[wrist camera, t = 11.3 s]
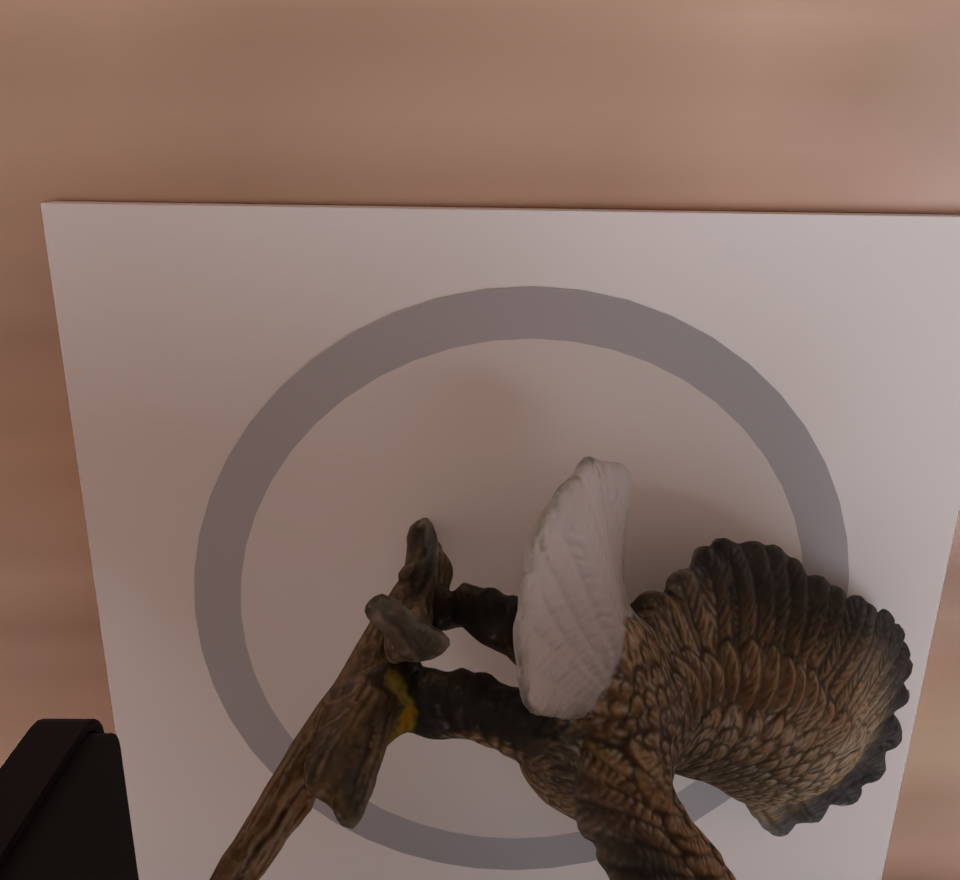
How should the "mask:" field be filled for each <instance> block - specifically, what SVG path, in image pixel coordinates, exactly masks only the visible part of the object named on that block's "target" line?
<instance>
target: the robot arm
mask: <svg viewBox="0 0 960 880" xmlns="http://www.w3.org/2000/svg"><path fill="white" fill-rule="evenodd" d="M0 880H139V877H138V870H137V863H136V855H135V848H134V841H133V834H132V826H131V819H130V812H129V805H128V798H127V790H126V783H125V776H124V769H123V761H122V754H121V747H120V742H119V739H118V737H117V735H116V734H113V733H104V731H103V727H102V725H101V723H100V722H99V721H98V720H96V719H41V720H38V721H37V722H36V723H35V724H34V725H33V726H32V727H31V728H30V729H29V730H28V732H27V733H26V734H25V736H24V737H23V738H22V740H21V741H20V743H19V744H18V745H17V747H16V748H15V749H14V751H13V752H12V753H11V755H10V756H9V757H8V759H7V760H6V761H5V763H4V764H3V766H2V767H1V768H0Z"/></svg>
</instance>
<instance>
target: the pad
mask: <svg viewBox="0 0 960 880" xmlns="http://www.w3.org/2000/svg"><path fill="white" fill-rule="evenodd" d="M40 205H41V212H42V219H43V226H44V233H45V240H46V247H47V254H48V261H49V268H50V275H51V282H52V289H53V296H54V303H55V310H56V317H57V324H58V331H59V338H60V345H61V352H62V359H63V367H64V374H65V381H66V388H67V395H68V402H69V409H70V416H71V423H72V430H73V437H74V444H75V451H76V458H77V465H78V472H79V479H80V486H81V493H82V500H83V507H84V514H85V521H86V528H87V535H88V542H89V549H90V557H91V564H92V571H93V578H94V585H95V592H96V599H97V606H98V613H99V620H100V627H101V634H102V641H103V648H104V655H105V662H106V669H107V676H108V683H109V690H110V697H111V704H112V711H113V718H114V725H115V732H116V735H117V737H118V739H119V742H120V747H121V754H122V761H123V769H124V776H125V783H126V790H127V798H128V805H129V812H130V819H131V826H132V834H133V841H134V848H135V855H136V863H137V870H138V877H139V880H209V879H210V878H211V876H212V874H213V872H214V870H215V868H216V866H217V864H218V863H219V861H220V859H221V857H222V856H223V854H224V853H225V851H226V850H227V849H228V847H229V846H230V844H231V843H232V842H233V840H234V839H235V837H236V835H237V834H238V832H239V830H240V829H241V827H242V825H243V824H244V822H245V820H246V819H247V817H248V816H249V814H250V812H251V811H252V809H253V807H254V806H255V804H256V803H257V801H258V799H259V797H260V795H261V793H262V792H263V790H264V788H265V787H266V785H267V783H268V782H269V780H270V779H271V777H272V775H273V774H274V772H275V771H276V769H277V767H278V766H279V764H280V762H281V761H282V759H283V757H284V756H285V754H286V752H287V750H288V748H289V747H290V745H291V743H292V742H293V740H294V739H295V737H296V736H297V734H298V733H299V731H300V730H301V728H302V727H303V725H304V724H305V723H306V721H307V720H308V718H309V717H310V715H311V714H312V712H313V711H314V709H315V708H316V706H317V705H318V703H319V702H320V701H321V699H322V698H323V697H324V696H325V694H326V693H327V692H328V690H329V689H330V688H331V687H332V685H333V684H334V682H335V681H336V679H337V677H338V676H339V674H340V672H341V671H342V669H343V667H344V666H345V664H346V662H347V660H348V658H349V657H350V655H351V653H352V651H353V650H354V648H355V646H356V644H357V643H358V641H359V639H360V638H361V636H362V634H363V633H364V631H365V629H366V628H367V626H368V624H369V623H370V620H369V619H368V618H367V616H366V614H365V611H364V610H365V606H366V604H367V603H368V601H369V600H370V599H372V598H373V597H374V596H376V595H379V594H385V595H387V596H388V595H389V593H390V592H391V590H392V589H393V587H394V586H395V584H396V583H397V582H398V580H399V579H398V573H399V572H400V570H401V569H402V567H403V566H404V565H405V559H406V550H407V539H406V537H407V534H408V531H409V528H410V526H411V525H412V524H414V523H415V522H416V521H417V520H420V519H422V518H428V519H429V520H430V521H431V522H432V524H433V526H434V529H435V531H436V534H437V539H438V542H439V543H440V544H441V545H442V550H443V551H444V553H445V554H446V555H447V556H448V558H449V560H450V561H451V564H452V567H453V578H452V581H451V584H450V588H449V590H450V591H454V590H455V589H457V588H458V587H459V586H460V585H461V584H462V583H464V582H465V583H468V584H472V585H475V586H478V587H482V588H487V587H492V588H496V589H498V590H499V591H500V592H502V593H503V594H505V595H508V596H510V595H515V596H518V590H519V583H520V579H521V576H522V572H523V564H524V551H525V543H526V537H527V535H528V533H529V531H530V529H531V527H532V526H533V524H534V523H535V521H536V519H537V518H538V516H539V515H540V513H541V512H542V511H543V509H544V508H545V507H546V506H547V505H548V504H549V502H550V500H551V498H552V496H553V494H554V493H555V491H556V490H557V488H558V487H559V486H560V485H561V484H562V483H563V482H564V481H566V480H567V479H568V478H569V477H570V476H572V475H573V473H574V471H575V469H576V467H577V465H578V464H579V462H580V461H581V460H582V459H583V458H584V457H589V456H590V457H593V458H596V459H597V460H600V461H603V462H617V463H621V464H622V465H624V466H625V467H626V468H627V470H628V471H629V474H630V477H631V481H632V488H633V489H632V494H631V502H630V508H629V514H628V519H627V525H626V533H625V545H624V585H625V590H626V594H627V598H628V601H629V603H632V602H633V601H634V600H635V599H636V598H637V597H638V595H640V594H641V593H643V592H645V591H650V590H654V591H659V592H664V590H665V586H666V580H667V579H668V577H669V576H670V575H671V574H672V573H673V572H675V571H677V570H679V569H685V568H688V567H689V566H690V563H691V560H692V555H693V552H694V550H695V549H696V548H697V547H700V546H710V545H711V544H712V541H713V540H714V539H717V538H727V539H729V540H731V541H733V542H735V543H743V542H747V541H758V542H761V543H762V544H764V545H771V544H774V545H777V546H779V547H781V548H782V549H783V551H784V552H785V553H786V554H787V555H788V556H789V557H792V558H793V557H794V558H796V559H798V560H799V561H800V562H801V563H802V565H803V567H804V569H805V572H806V574H807V575H809V576H810V575H820V576H821V577H822V576H823V577H824V578H825V579H826V580H827V581H828V582H829V583H830V584H831V585H836V586H838V587H840V588H841V589H842V590H843V591H844V592H845V593H846V596H847V598H848V597H850V596H852V595H859V596H861V597H863V598H864V599H865V600H866V602H868V603H870V604H872V605H873V606H874V607H875V608H876V609H877V612H879V611H880V610H881V609H886V610H888V611H889V612H890V613H891V614H892V615H893V617H894V619H895V623H896V624H900V626H901V627H902V628H903V629H904V633H905V639H904V642H905V643H906V644H907V645H908V648H909V651H910V654H911V655H910V660H911V661H912V663H913V668H912V673H911V675H910V676H909V678H908V679H907V680H906V681H905V682H904V684H905V686H906V688H907V689H908V690H909V695H910V698H909V700H908V703H907V704H905V705H904V706H903V707H901V708H899V709H898V710H897V711H895V713H894V715H895V716H896V717H897V719H898V720H899V722H900V724H901V728H902V741H901V743H900V744H899V745H898V746H897V747H896V748H894V749H892V750H889V751H887V752H886V755H885V762H886V771H885V773H884V775H883V776H882V777H881V779H880V780H878V781H876V782H874V783H867V784H865V785H864V786H862V794H861V796H860V798H859V800H858V802H856V803H854V804H853V805H848V806H838V805H830V806H829V808H828V810H827V812H826V813H825V815H824V817H823V819H822V820H821V821H820V822H817V823H800V824H796V825H795V826H794V828H793V829H792V830H791V831H790V833H789V834H788V835H786V836H781V837H778V836H774V835H772V834H771V833H770V832H768V831H767V830H765V829H763V828H762V827H761V825H760V823H759V822H758V820H757V819H756V818H754V817H753V816H752V815H751V814H750V811H749V810H748V808H747V806H746V805H745V804H744V803H742V802H740V801H737V800H735V799H734V798H732V797H730V796H728V795H727V794H725V793H724V792H723V791H721V790H720V789H718V788H716V787H714V786H712V785H710V784H707V783H705V782H703V781H698V780H693V779H690V778H686V777H683V776H680V775H676V774H674V779H673V787H674V789H675V792H676V794H677V796H678V798H679V800H680V801H681V803H682V804H683V805H684V807H685V809H686V811H687V813H688V815H689V817H690V819H691V820H692V822H693V823H694V824H695V825H696V826H697V827H698V828H699V829H700V830H701V831H702V833H703V834H704V835H705V836H706V837H707V838H708V839H709V840H710V842H711V843H712V844H713V845H714V846H715V847H716V848H717V850H718V851H719V852H720V853H721V855H722V857H723V860H724V863H725V865H726V866H727V867H728V868H729V870H730V871H731V872H732V873H733V875H734V876H735V878H736V880H881V878H882V874H883V869H884V864H885V859H886V855H887V850H888V845H889V840H890V836H891V831H892V826H893V821H894V817H895V812H896V807H897V802H898V798H899V793H900V788H901V783H902V779H903V774H904V769H905V764H906V760H907V755H908V750H909V745H910V741H911V736H912V731H913V726H914V722H915V717H916V712H917V707H918V703H919V698H920V693H921V688H922V684H923V679H924V674H925V669H926V665H927V660H928V655H929V650H930V646H931V641H932V636H933V631H934V627H935V622H936V617H937V612H938V608H939V603H940V598H941V593H942V589H943V584H944V579H945V574H946V570H947V565H948V560H949V555H950V551H951V546H952V541H953V536H954V532H955V527H956V522H957V517H958V513H959V508H960V215H943V214H876V213H810V212H744V211H677V210H611V209H545V208H479V207H412V206H346V205H280V204H213V203H147V202H81V201H51V202H44V203H40ZM442 632H443V633H445V635H446V636H447V637H448V638H449V639H450V646H449V647H448V648H447V649H446V651H445V652H444V653H443V654H442V655H440V656H438V657H436V658H434V659H432V660H428V661H422V662H421V664H422V666H424V667H429V668H436V669H438V670H442V671H446V672H449V671H454V670H456V669H459V668H465V669H467V670H470V671H472V672H474V673H475V672H487V673H489V674H491V675H493V676H494V677H495V678H496V679H497V680H498V681H499V682H501V683H503V684H506V685H508V686H512V687H519V686H518V680H517V667H516V665H515V664H514V663H513V662H512V661H511V660H510V659H509V658H508V657H507V656H506V655H504V654H502V653H499V652H497V651H495V650H493V649H491V648H489V647H487V646H485V645H483V644H481V643H480V642H479V641H477V640H476V639H475V638H474V637H472V636H471V635H470V634H469V633H468V632H467V631H466V630H465V629H464V628H463V627H459V628H454V629H450V630H447V631H442ZM259 880H610V879H609V877H608V875H607V873H606V872H605V870H604V869H603V868H602V866H601V865H600V864H599V863H598V860H597V857H596V847H595V845H594V844H593V842H591V841H589V840H587V839H585V838H584V837H583V836H582V835H581V833H580V831H579V830H578V827H577V822H576V821H575V820H573V819H572V818H570V817H568V816H566V815H564V814H562V813H561V812H559V811H558V810H556V809H554V808H552V807H551V806H549V805H547V804H546V803H545V802H544V801H543V800H542V799H541V798H540V797H539V796H538V795H537V794H536V792H535V791H534V790H533V789H532V788H531V787H530V785H529V784H528V782H527V781H526V779H525V778H524V776H523V774H522V771H521V769H520V765H519V763H518V762H517V761H515V760H513V759H511V758H509V757H506V756H504V755H503V754H502V753H500V752H499V751H498V750H496V749H493V748H488V747H485V746H483V745H481V744H478V743H476V742H474V741H472V740H468V739H445V740H435V739H428V738H425V737H421V736H418V735H416V734H414V733H405V734H402V735H400V736H399V737H397V738H396V739H395V740H394V741H393V742H391V743H390V744H389V745H388V746H387V748H386V752H385V755H384V758H383V761H382V764H381V766H380V769H379V772H378V775H377V779H376V785H375V787H374V790H373V793H372V795H371V797H370V799H369V801H368V804H367V807H366V810H365V813H364V815H363V817H362V819H361V821H360V822H359V823H358V824H357V826H356V827H355V828H354V829H350V828H346V827H344V826H341V824H340V823H339V822H338V821H337V819H336V817H335V814H334V812H333V810H332V809H331V808H330V807H329V806H328V805H327V804H326V803H324V802H322V801H320V800H319V799H317V798H316V799H315V802H314V804H313V807H312V810H311V811H310V812H309V813H308V814H307V816H306V817H305V818H304V820H303V821H302V822H301V824H300V825H299V826H298V827H297V828H296V829H295V830H294V831H293V832H292V834H291V835H290V836H289V837H288V839H287V840H286V842H285V844H284V846H283V848H282V849H281V850H280V852H279V853H278V855H277V856H276V858H275V859H274V861H273V862H272V864H271V865H270V866H269V868H268V869H267V871H266V872H265V873H264V875H263V876H262V877H261V878H260V879H259Z"/></svg>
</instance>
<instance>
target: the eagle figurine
mask: <svg viewBox="0 0 960 880" xmlns="http://www.w3.org/2000/svg"><path fill="white" fill-rule="evenodd" d="M632 489H633V488H632V481H631V477H630V474H629V471H628V470H627V468H626V467H625V466H624V465H622V464H621V463H617V462H603V461H600V460H597V459H596V458H593V457H590V456H589V457H584V458H583V459H582V460H581V461H580V462H579V464H578V465H577V467H576V469H575V471H574V473H573V475H572V476H570V477H569V478H568V479H567V480H566V481H564V482H563V483H562V484H561V485H560V486H559V487H558V488H557V490H556V491H555V493H554V494H553V496H552V498H551V500H550V502H549V504H548V505H547V506H546V507H545V508H544V509H543V511H542V512H541V513H540V515H539V516H538V518H537V519H536V521H535V523H534V524H533V526H532V527H531V529H530V531H529V533H528V535H527V537H526V543H525V551H524V564H523V572H522V576H521V579H520V583H519V590H518V596H515V595H510V596H508V595H505V594H503V593H502V592H500V591H499V590H498V589H496V588H492V587H487V588H482V587H478V586H475V585H472V584H468V583H465V582H464V583H462V584H461V585H460V586H459V587H458V588H457V589H455V590H454V591H450V590H449V588H450V584H451V581H452V578H453V567H452V564H451V561H450V560H449V558H448V556H447V555H446V554H445V553H444V551H443V550H442V545H441V544H440V543H439V542H438V539H437V534H436V531H435V529H434V526H433V524H432V522H431V521H430V520H429V519H428V518H422V519H420V520H417V521H416V522H415V523H414V524H412V525H411V526H410V528H409V531H408V534H407V537H406V539H407V550H406V559H405V565H404V566H403V567H402V569H401V570H400V572H399V573H398V579H399V580H398V582H397V583H396V584H395V586H394V587H393V589H392V590H391V592H390V593H389V595H388V596H387V595H385V594H379V595H376V596H374V597H373V598H372V599H370V600H369V601H368V603H367V604H366V606H365V610H364V611H365V614H366V616H367V618H368V619H369V620H370V623H369V624H368V626H367V628H366V629H365V631H364V633H363V634H362V636H361V638H360V639H359V641H358V643H357V644H356V646H355V648H354V650H353V651H352V653H351V655H350V657H349V658H348V660H347V662H346V664H345V666H344V667H343V669H342V671H341V672H340V674H339V676H338V677H337V679H336V681H335V682H334V684H333V685H332V687H331V688H330V689H329V690H328V692H327V693H326V694H325V696H324V697H323V698H322V699H321V701H320V702H319V703H318V705H317V706H316V708H315V709H314V711H313V712H312V714H311V715H310V717H309V718H308V720H307V721H306V723H305V724H304V725H303V727H302V728H301V730H300V731H299V733H298V734H297V736H296V737H295V739H294V740H293V742H292V743H291V745H290V747H289V748H288V750H287V752H286V754H285V756H284V757H283V759H282V761H281V762H280V764H279V766H278V767H277V769H276V771H275V772H274V774H273V775H272V777H271V779H270V780H269V782H268V783H267V785H266V787H265V788H264V790H263V792H262V793H261V795H260V797H259V799H258V801H257V803H256V804H255V806H254V807H253V809H252V811H251V812H250V814H249V816H248V817H247V819H246V820H245V822H244V824H243V825H242V827H241V829H240V830H239V832H238V834H237V835H236V837H235V839H234V840H233V842H232V843H231V844H230V846H229V847H228V849H227V850H226V851H225V853H224V854H223V856H222V857H221V859H220V861H219V863H218V864H217V866H216V868H215V870H214V872H213V874H212V876H211V878H210V879H209V880H259V879H260V878H261V877H262V876H263V875H264V873H265V872H266V871H267V869H268V868H269V866H270V865H271V864H272V862H273V861H274V859H275V858H276V856H277V855H278V853H279V852H280V850H281V849H282V848H283V846H284V844H285V842H286V840H287V839H288V837H289V836H290V835H291V834H292V832H293V831H294V830H295V829H296V828H297V827H298V826H299V825H300V824H301V822H302V821H303V820H304V818H305V817H306V816H307V814H308V813H309V812H310V811H311V810H312V807H313V804H314V802H315V799H316V798H317V799H319V800H320V801H322V802H324V803H326V804H327V805H328V806H329V807H330V808H331V809H332V810H333V812H334V814H335V817H336V819H337V821H338V822H339V823H340V824H341V826H344V827H346V828H350V829H354V828H355V827H356V826H357V824H358V823H359V822H360V821H361V819H362V817H363V815H364V813H365V810H366V807H367V804H368V801H369V799H370V797H371V795H372V793H373V790H374V787H375V785H376V779H377V775H378V772H379V769H380V766H381V764H382V761H383V758H384V755H385V752H386V748H387V746H388V745H389V744H390V743H391V742H393V741H394V740H395V739H396V738H397V737H399V736H400V735H402V734H405V733H414V734H416V735H418V736H421V737H425V738H428V739H435V740H445V739H468V740H472V741H474V742H476V743H478V744H481V745H483V746H485V747H488V748H493V749H496V750H498V751H499V752H500V753H502V754H503V755H504V756H506V757H509V758H511V759H513V760H515V761H517V762H518V763H519V765H520V769H521V771H522V774H523V776H524V778H525V779H526V781H527V782H528V784H529V785H530V787H531V788H532V789H533V790H534V791H535V792H536V794H537V795H538V796H539V797H540V798H541V799H542V800H543V801H544V802H545V803H546V804H547V805H549V806H551V807H552V808H554V809H556V810H558V811H559V812H561V813H562V814H564V815H566V816H568V817H570V818H572V819H573V820H575V821H576V822H577V827H578V830H579V831H580V833H581V835H582V836H583V837H584V838H585V839H587V840H589V841H591V842H593V844H594V845H595V847H596V857H597V860H598V863H599V864H600V865H601V866H602V868H603V869H604V870H605V872H606V873H607V875H608V877H609V879H610V880H736V878H735V876H734V875H733V873H732V872H731V871H730V870H729V868H728V867H727V866H726V865H725V863H724V860H723V857H722V855H721V853H720V852H719V851H718V850H717V848H716V847H715V846H714V845H713V844H712V843H711V842H710V840H709V839H708V838H707V837H706V836H705V835H704V834H703V833H702V831H701V830H700V829H699V828H698V827H697V826H696V825H695V824H694V823H693V822H692V820H691V819H690V817H689V815H688V813H687V811H686V809H685V807H684V805H683V804H682V803H681V801H680V800H679V798H678V796H677V794H676V792H675V789H674V787H673V779H674V774H676V775H680V776H683V777H686V778H690V779H693V780H698V781H703V782H705V783H707V784H710V785H712V786H714V787H716V788H718V789H720V790H721V791H723V792H724V793H725V794H727V795H728V796H730V797H732V798H734V799H735V800H737V801H740V802H742V803H744V804H745V805H746V806H747V808H748V810H749V811H750V814H751V815H752V816H753V817H754V818H756V819H757V820H758V822H759V823H760V825H761V827H762V828H763V829H765V830H767V831H768V832H770V833H771V834H772V835H774V836H778V837H781V836H786V835H788V834H789V833H790V831H791V830H792V829H793V828H794V826H795V825H796V824H800V823H817V822H820V821H821V820H822V819H823V817H824V815H825V813H826V812H827V810H828V808H829V806H830V805H838V806H848V805H853V804H854V803H856V802H858V800H859V798H860V796H861V794H862V786H864V785H865V784H867V783H874V782H876V781H878V780H880V779H881V777H882V776H883V775H884V773H885V771H886V762H885V755H886V752H887V751H889V750H892V749H894V748H896V747H897V746H898V745H899V744H900V743H901V741H902V728H901V724H900V722H899V720H898V719H897V717H896V716H895V715H894V713H895V711H897V710H898V709H899V708H901V707H903V706H904V705H905V704H907V703H908V700H909V698H910V695H909V690H908V689H907V688H906V686H905V684H904V682H905V681H906V680H907V679H908V678H909V676H910V675H911V673H912V668H913V663H912V661H911V660H910V655H911V654H910V651H909V648H908V645H907V644H906V643H905V642H904V639H905V633H904V629H903V628H902V627H901V626H900V624H896V623H895V619H894V617H893V615H892V614H891V613H890V612H889V611H888V610H886V609H881V610H880V611H879V612H877V609H876V608H875V607H874V606H873V605H872V604H870V603H868V602H866V600H865V599H864V598H863V597H861V596H859V595H852V596H850V597H848V598H847V596H846V593H845V592H844V591H843V590H842V589H841V588H840V587H838V586H836V585H831V584H830V583H829V582H828V581H827V580H826V579H825V578H824V577H823V576H822V577H821V576H820V575H810V576H809V575H807V574H806V572H805V569H804V567H803V565H802V563H801V562H800V561H799V560H798V559H796V558H794V557H793V558H792V557H789V556H788V555H787V554H786V553H785V552H784V551H783V549H782V548H781V547H779V546H777V545H774V544H771V545H764V544H762V543H761V542H758V541H747V542H743V543H735V542H733V541H731V540H729V539H727V538H717V539H714V540H713V541H712V544H711V545H710V546H700V547H697V548H696V549H695V550H694V552H693V555H692V560H691V563H690V566H689V567H688V568H685V569H679V570H677V571H675V572H673V573H672V574H671V575H670V576H669V577H668V579H667V580H666V586H665V590H664V592H659V591H654V590H650V591H645V592H643V593H641V594H640V595H638V597H637V598H636V599H635V600H634V601H633V602H632V603H629V601H628V598H627V594H626V590H625V585H624V545H625V533H626V525H627V519H628V514H629V508H630V502H631V494H632ZM459 627H463V628H464V629H465V630H466V631H467V632H468V633H469V634H470V635H471V636H472V637H474V638H475V639H476V640H477V641H479V642H480V643H481V644H483V645H485V646H487V647H489V648H491V649H493V650H495V651H497V652H499V653H502V654H504V655H506V656H507V657H508V658H509V659H510V660H511V661H512V662H513V663H514V664H515V665H516V667H517V680H518V686H519V687H512V686H508V685H506V684H503V683H501V682H499V681H498V680H497V679H496V678H495V677H494V676H493V675H491V674H489V673H487V672H475V673H474V672H472V671H470V670H467V669H465V668H459V669H456V670H454V671H449V672H446V671H442V670H438V669H436V668H429V667H424V666H422V664H421V662H422V661H428V660H432V659H434V658H436V657H438V656H440V655H442V654H443V653H444V652H445V651H446V649H447V648H448V647H449V646H450V639H449V638H448V637H447V636H446V635H445V633H443V632H442V631H447V630H450V629H454V628H459Z"/></svg>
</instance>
